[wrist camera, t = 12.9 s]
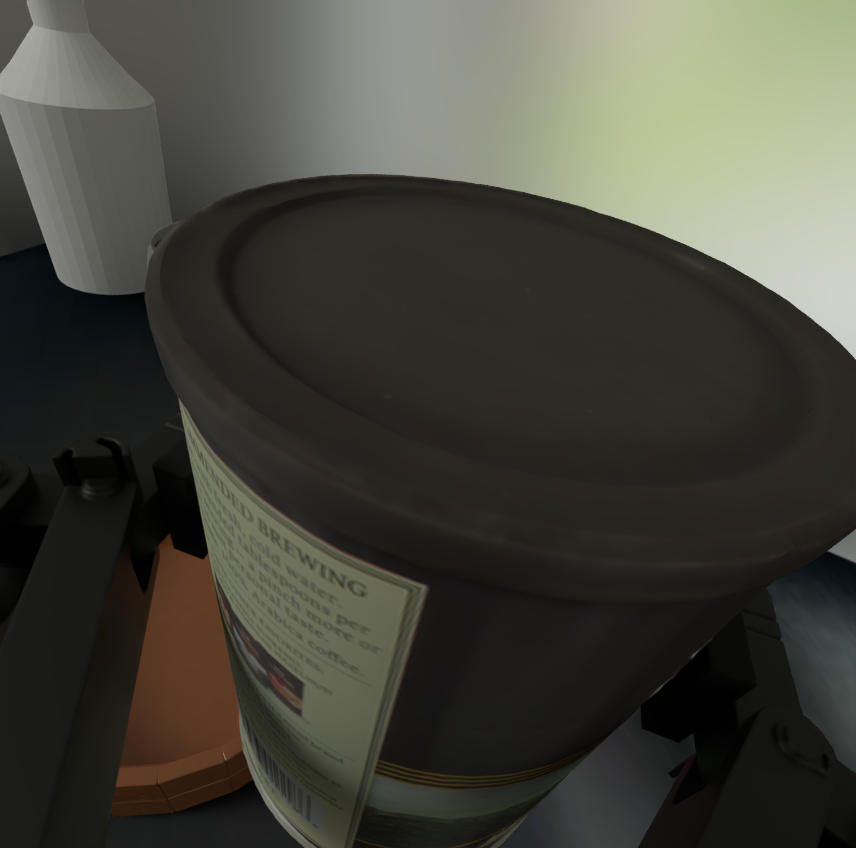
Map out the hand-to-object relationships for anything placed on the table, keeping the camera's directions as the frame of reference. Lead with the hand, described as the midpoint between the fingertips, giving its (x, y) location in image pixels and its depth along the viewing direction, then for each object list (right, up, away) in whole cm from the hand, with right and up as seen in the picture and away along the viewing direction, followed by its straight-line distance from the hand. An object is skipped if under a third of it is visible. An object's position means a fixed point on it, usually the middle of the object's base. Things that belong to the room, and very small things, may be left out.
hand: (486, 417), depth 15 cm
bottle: (-35, +16, +39) cm, 55 cm away
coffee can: (-3, -9, +2) cm, 9 cm away
